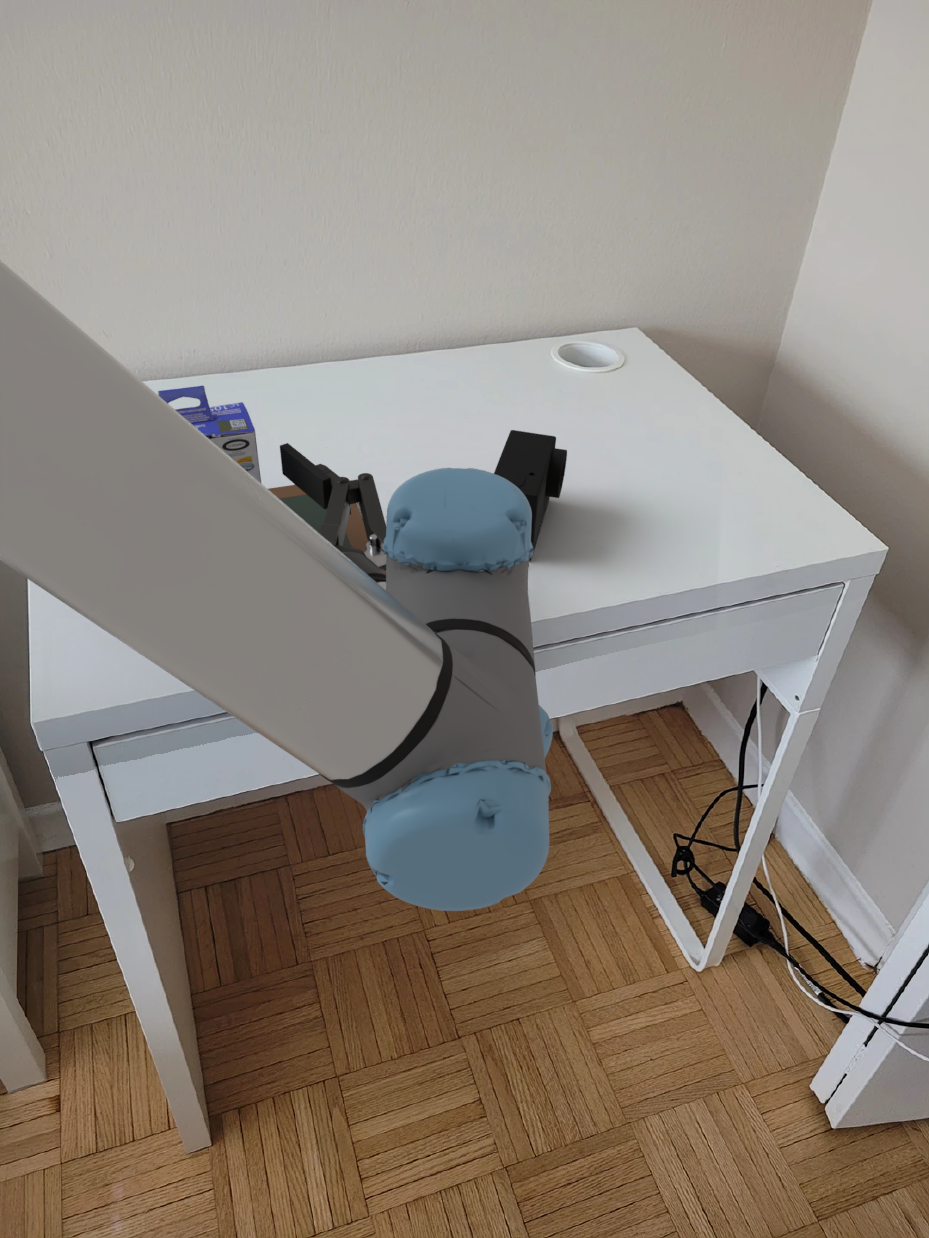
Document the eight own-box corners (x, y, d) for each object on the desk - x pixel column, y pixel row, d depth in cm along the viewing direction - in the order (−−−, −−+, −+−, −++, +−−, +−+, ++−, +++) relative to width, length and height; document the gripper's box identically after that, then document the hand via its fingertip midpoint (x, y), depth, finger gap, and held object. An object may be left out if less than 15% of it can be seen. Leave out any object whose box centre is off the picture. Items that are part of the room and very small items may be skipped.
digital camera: (543, 565, 83) (551, 498, 78) (483, 555, 84) (487, 488, 79) (561, 501, 91) (569, 437, 86) (505, 492, 92) (510, 428, 87)
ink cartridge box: (261, 522, 86) (242, 373, 76) (274, 557, 82) (256, 405, 72) (148, 541, 83) (114, 389, 73) (156, 579, 79) (121, 424, 69)
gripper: (197, 749, 59) (66, 579, 72) (500, 598, 72) (344, 475, 84) (178, 662, 54) (41, 495, 67) (506, 516, 67) (340, 398, 79)
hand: (210, 484), depth 75 cm, fingers open, 13 cm apart
